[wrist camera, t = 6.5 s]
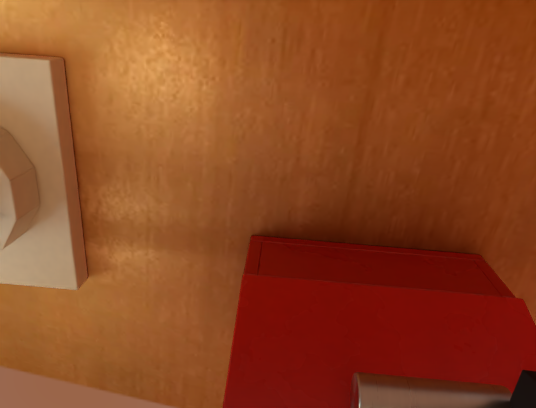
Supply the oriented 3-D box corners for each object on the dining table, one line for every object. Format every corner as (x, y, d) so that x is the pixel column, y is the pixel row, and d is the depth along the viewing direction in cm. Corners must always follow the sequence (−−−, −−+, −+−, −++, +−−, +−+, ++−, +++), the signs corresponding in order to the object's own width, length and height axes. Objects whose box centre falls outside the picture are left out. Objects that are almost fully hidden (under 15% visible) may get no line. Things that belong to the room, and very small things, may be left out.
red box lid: (617, 521, 12) (702, 480, 10) (212, 481, 12) (207, 433, 10) (517, 305, 17) (557, 249, 15) (242, 281, 17) (243, 222, 15)
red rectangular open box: (448, 361, 23) (474, 416, 20) (244, 342, 23) (236, 394, 20) (480, 254, 21) (516, 297, 17) (250, 234, 21) (243, 273, 18)
